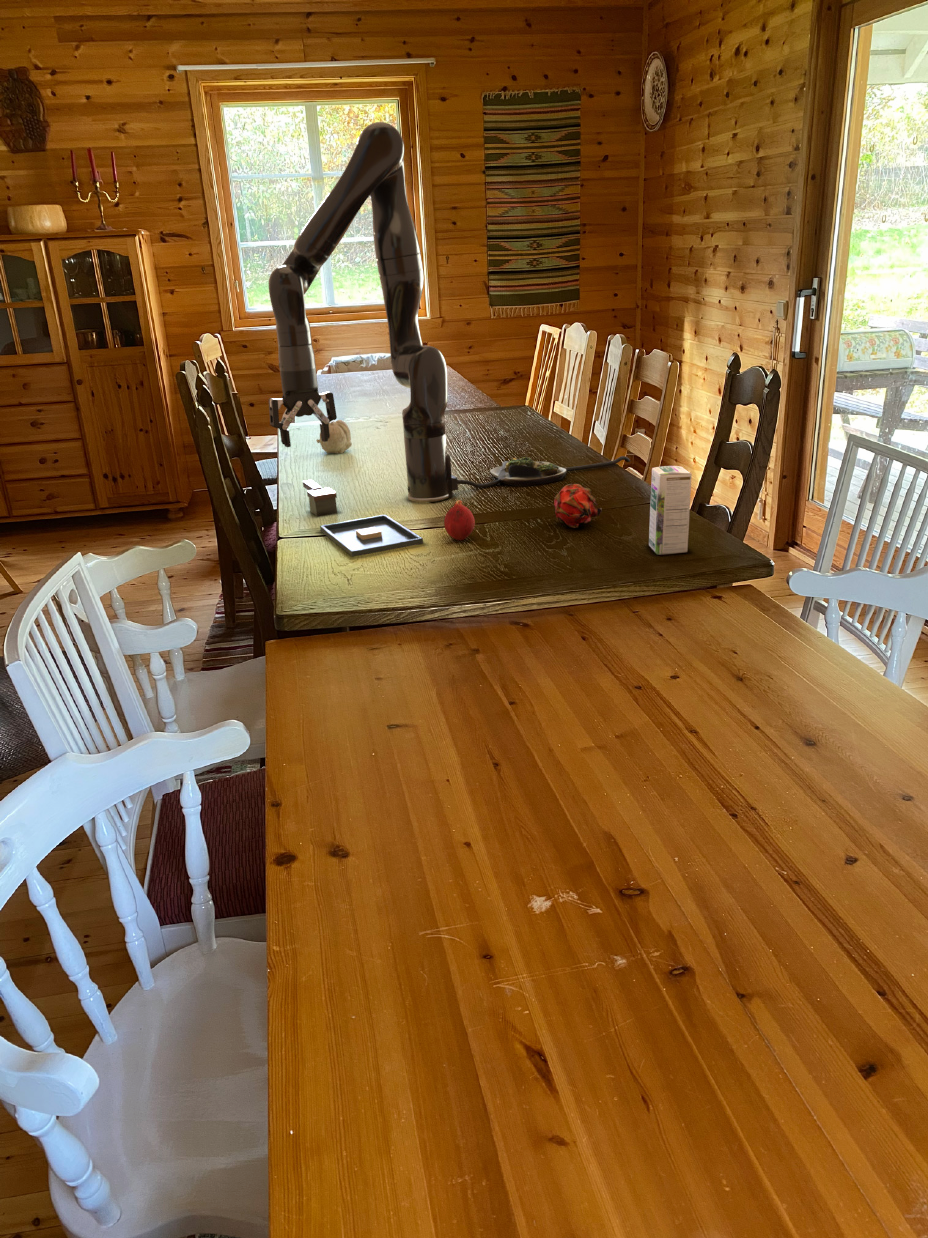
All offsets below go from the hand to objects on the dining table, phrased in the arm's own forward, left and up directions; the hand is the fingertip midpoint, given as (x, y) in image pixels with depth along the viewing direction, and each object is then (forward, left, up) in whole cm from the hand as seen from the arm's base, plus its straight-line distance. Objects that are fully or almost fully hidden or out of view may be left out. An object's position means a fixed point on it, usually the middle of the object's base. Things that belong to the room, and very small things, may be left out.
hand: (306, 443), depth 198 cm
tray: (-3, +30, -14) cm, 33 cm away
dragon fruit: (-41, +45, -15) cm, 62 cm away
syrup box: (-46, +68, -15) cm, 83 cm away
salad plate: (-52, +5, -15) cm, 54 cm away
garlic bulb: (-23, -55, -15) cm, 62 cm away
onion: (-17, +42, -15) cm, 47 cm away
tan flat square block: (-3, +29, -14) cm, 32 cm away
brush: (-1, +1, -14) cm, 14 cm away
